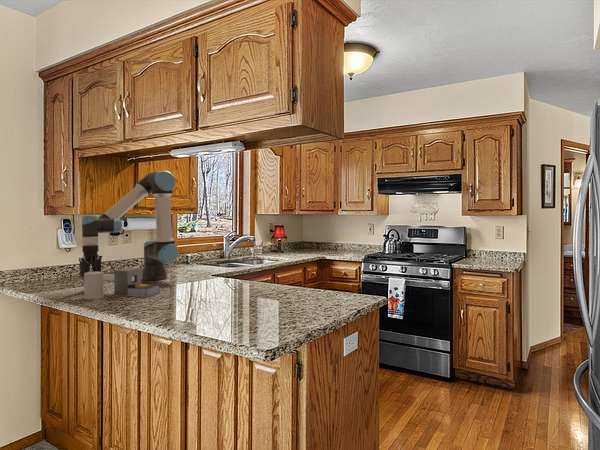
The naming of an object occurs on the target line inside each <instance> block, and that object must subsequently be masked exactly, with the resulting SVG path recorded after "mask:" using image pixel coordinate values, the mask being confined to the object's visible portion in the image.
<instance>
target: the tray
mask: <svg viewBox="0 0 600 450" xmlns="http://www.w3.org/2000/svg"><path fill="white" fill-rule="evenodd" d="M160 293H161V292H160V286H159V285H148V289H132V288H128V296H127V297H129V296H130V297H139V298H141V297H142V298H147V297H152V296H155V295H158V294H160Z"/></svg>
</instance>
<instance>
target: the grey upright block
mask: <svg viewBox="0 0 600 450" xmlns="http://www.w3.org/2000/svg"><path fill="white" fill-rule="evenodd" d="M103 274H104V272H103V271H101V272H86V273H84V278H83V289H84V299H85V300H99V299H102V298H104V280H103Z"/></svg>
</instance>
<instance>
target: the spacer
mask: <svg viewBox="0 0 600 450" xmlns="http://www.w3.org/2000/svg"><path fill="white" fill-rule="evenodd" d="M148 286H149V284H146V283H141V284H140V285H136V286H135V289H148Z"/></svg>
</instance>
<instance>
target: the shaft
mask: <svg viewBox="0 0 600 450" xmlns="http://www.w3.org/2000/svg"><path fill="white" fill-rule="evenodd" d="M89 272H98V271H93V270H90V271H89ZM103 281H113V282H114V274H113V273H112V274H109V273H108V274H107V273H103ZM132 281H135V276H132Z"/></svg>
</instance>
